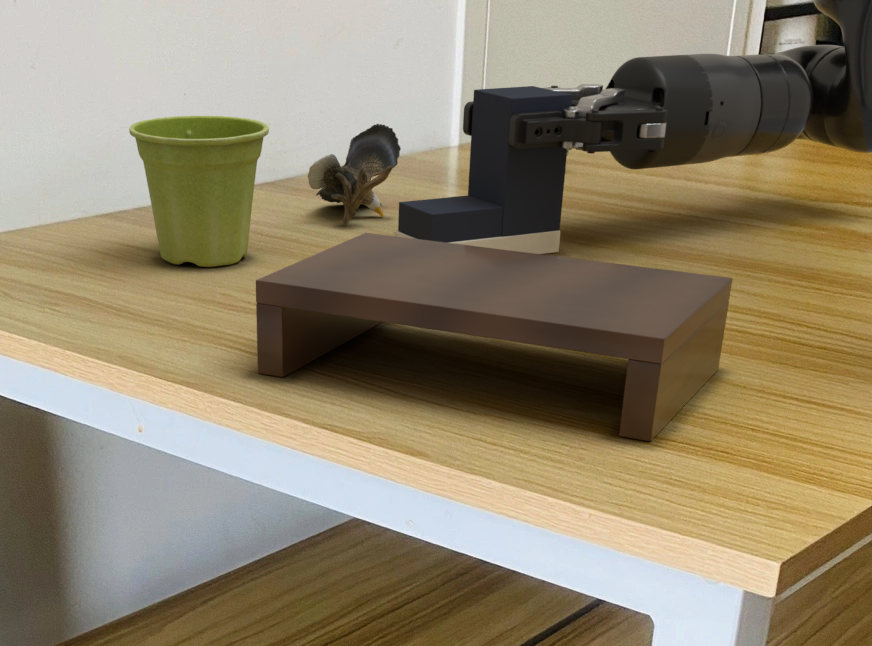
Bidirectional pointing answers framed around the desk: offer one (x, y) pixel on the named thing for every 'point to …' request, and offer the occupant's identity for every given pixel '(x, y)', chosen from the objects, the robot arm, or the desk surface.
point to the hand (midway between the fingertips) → (489, 125)
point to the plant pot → (201, 184)
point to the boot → (499, 183)
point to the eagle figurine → (357, 171)
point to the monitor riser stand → (504, 311)
